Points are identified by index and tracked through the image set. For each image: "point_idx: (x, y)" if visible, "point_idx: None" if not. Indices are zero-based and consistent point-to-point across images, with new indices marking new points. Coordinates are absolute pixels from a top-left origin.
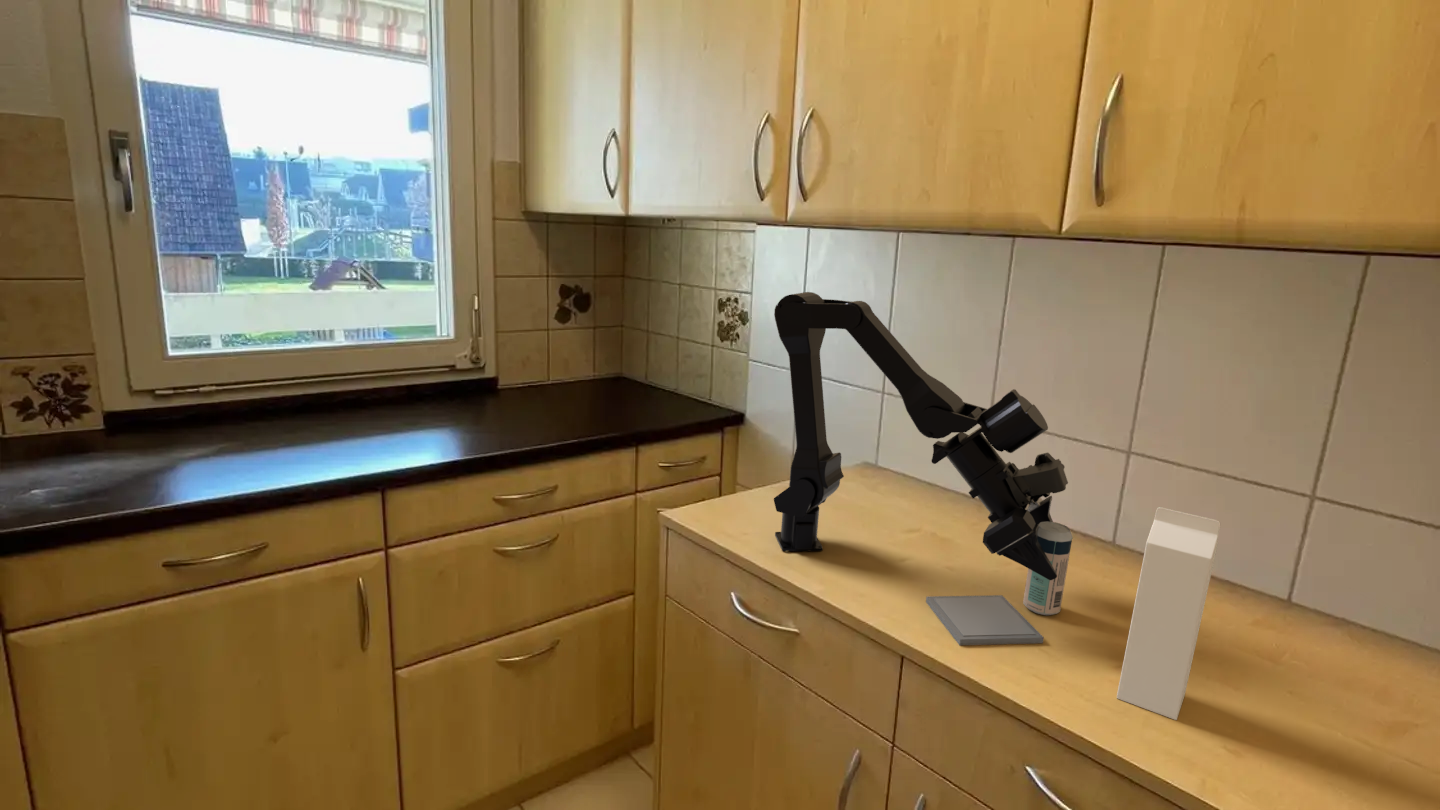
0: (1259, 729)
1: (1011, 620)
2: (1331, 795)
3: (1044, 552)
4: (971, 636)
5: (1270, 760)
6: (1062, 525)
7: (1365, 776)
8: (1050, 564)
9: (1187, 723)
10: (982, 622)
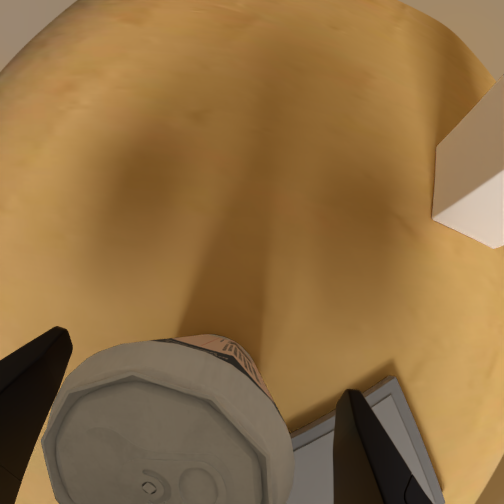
0: (447, 91)
1: None
2: None
3: (383, 481)
4: (431, 493)
5: None
6: (60, 410)
7: (455, 47)
8: (374, 432)
9: None
10: None
